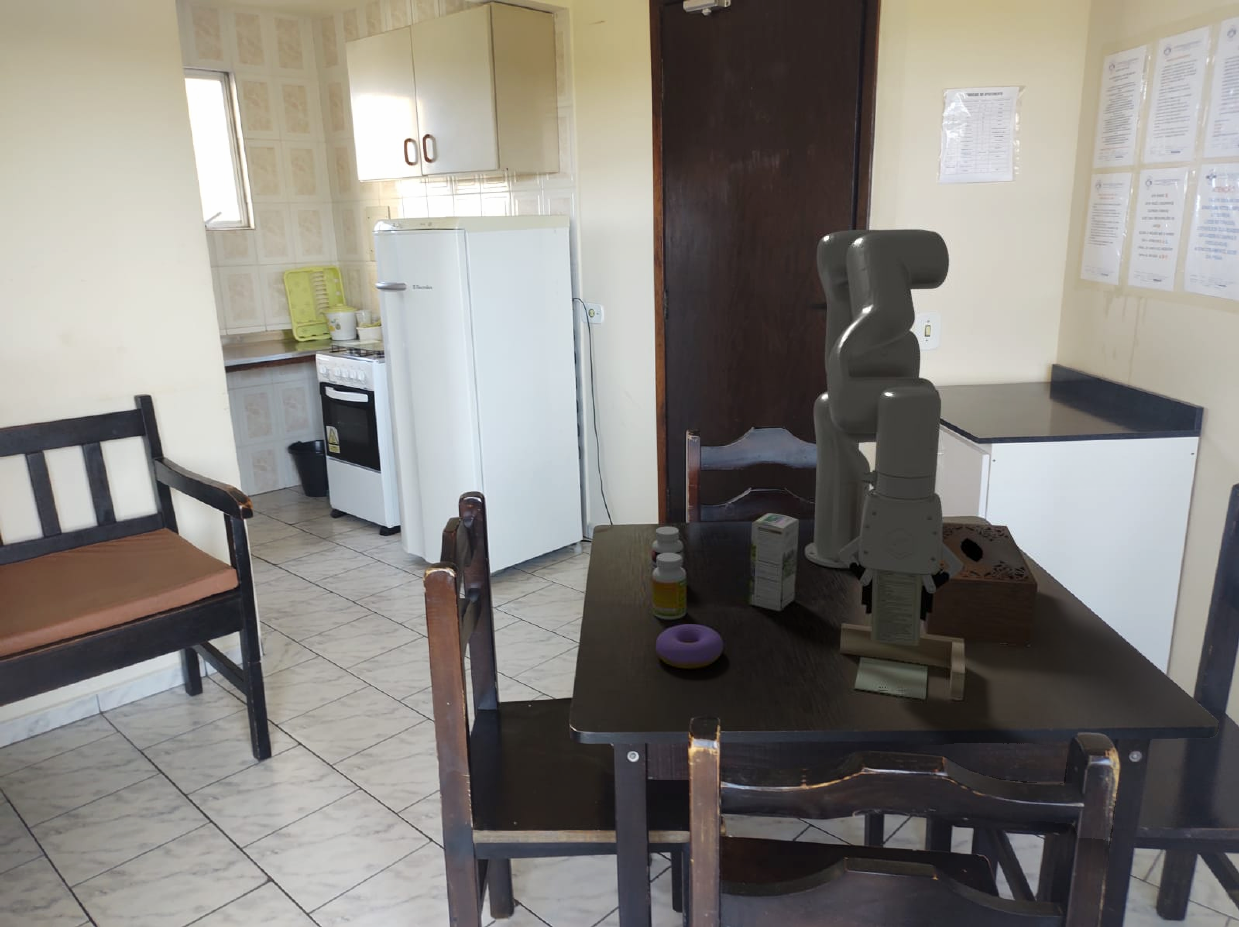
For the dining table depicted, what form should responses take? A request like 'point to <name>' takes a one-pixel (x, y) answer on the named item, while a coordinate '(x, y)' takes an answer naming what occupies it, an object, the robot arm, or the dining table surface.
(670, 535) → the pill bottle
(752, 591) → the syrup box
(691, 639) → the donut
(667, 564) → the supplement bottle
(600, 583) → the dining table surface
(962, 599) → the tissue box cover
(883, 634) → the skincare box
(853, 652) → the corner arena
